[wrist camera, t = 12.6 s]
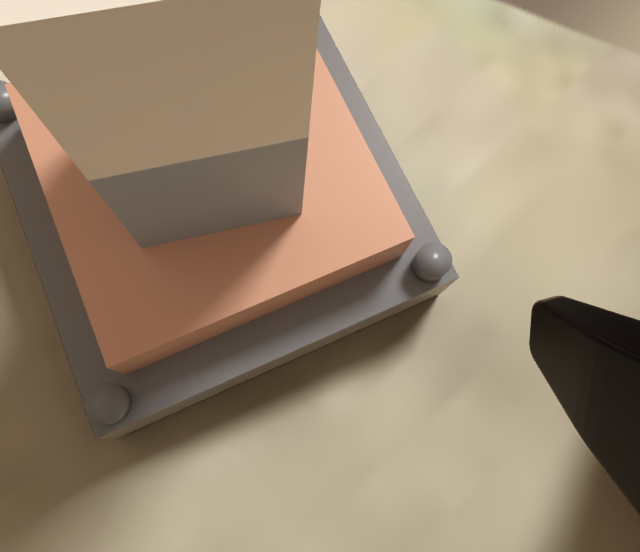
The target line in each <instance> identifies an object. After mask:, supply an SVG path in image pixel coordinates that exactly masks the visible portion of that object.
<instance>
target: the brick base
mask: <svg viewBox="0 0 640 552" xmlns="http://www.w3.org/2000/svg"><path fill="white" fill-rule="evenodd" d="M0 163H1V166H2V169H3V172H4V175H5V178H6V181H7V183H8V186H9V189H10V192H11V195H12V198H13V201H14V204H15V207H16V210H17V212H18V215H19V218H20V221H21V224H22V227H23V230H24V233H25V236H26V239H27V241H28V244H29V247H30V250H31V253H32V256H33V259H34V262H35V265H36V268H37V270H38V273H39V276H40V279H41V282H42V285H43V288H44V291H45V294H46V297H47V299H48V302H49V305H50V308H51V311H52V314H53V317H54V320H55V323H56V326H57V328H58V331H59V334H60V337H61V340H62V343H63V346H64V349H65V352H66V355H67V357H68V360H69V363H70V366H71V369H72V372H73V375H74V378H75V381H76V383H77V386H78V389H79V392H80V395H81V398H82V401H83V404H84V411H85V413H86V415H87V417H88V418H89V421H90V424H91V427H92V430H93V433H94V436H95V439H108V438H120V437H122V436H124V435H126V434H129V433H131V432H133V431H135V430H137V429H140V428H142V427H144V426H146V425H149V424H151V423H153V422H155V421H158V420H160V419H162V418H164V417H166V416H169V415H171V414H173V413H175V412H178V411H180V410H182V409H184V408H187V407H189V406H191V405H193V404H195V403H198V402H200V401H202V400H204V399H207V398H209V397H211V396H213V395H215V394H218V393H220V392H222V391H224V390H227V389H229V388H231V387H233V386H236V385H238V384H240V383H242V382H244V381H247V380H249V379H251V378H253V377H256V376H258V375H260V374H262V373H265V372H267V371H269V370H271V369H273V368H276V367H278V366H280V365H282V364H285V363H287V362H289V361H291V360H294V359H296V358H298V357H300V356H302V355H305V354H307V353H309V352H311V351H314V350H316V349H318V348H320V347H323V346H325V345H327V344H329V343H331V342H334V341H336V340H338V339H340V338H343V337H345V336H347V335H349V334H352V333H354V332H356V331H358V330H360V329H363V328H365V327H367V326H369V325H372V324H374V323H376V322H378V321H380V320H383V319H385V318H387V317H389V316H392V315H394V314H396V313H398V312H401V311H403V310H405V309H407V308H409V307H412V306H414V305H416V304H418V303H421V302H423V301H425V300H427V299H430V298H432V297H434V296H436V295H438V294H440V293H441V292H442V291H444V290H445V289H446V288H447V287H448V286H449V285H451V284H452V283H453V282H454V281H455V280H457V279H458V278H459V276H458V274H457V273H456V271H455V269H454V267H453V265H452V256H451V253H450V252H449V250H448V249H447V248H446V247H445V246H444V245H442V244H441V242H440V241H439V239H438V237H437V235H436V233H435V231H434V229H433V227H432V226H431V224H430V222H429V220H428V218H427V216H426V214H425V212H424V210H423V209H422V207H421V205H420V203H419V201H418V199H417V197H416V195H415V193H414V192H413V190H412V188H411V186H410V184H409V182H408V180H407V178H406V177H405V175H404V173H403V171H402V169H401V167H400V165H399V163H398V161H397V160H396V158H395V156H394V154H393V152H392V150H391V148H390V146H389V144H388V143H387V141H386V139H385V137H384V135H383V133H382V131H381V129H380V128H379V126H378V124H377V122H376V120H375V118H374V116H373V114H372V112H371V111H370V109H369V107H368V105H367V103H366V101H365V99H364V97H363V96H362V94H361V92H360V90H359V88H358V86H357V84H356V82H355V80H354V79H353V77H352V75H351V73H350V71H349V69H348V67H347V65H346V63H345V62H344V60H343V58H342V56H341V54H340V52H339V50H338V48H337V47H336V45H335V43H334V41H333V39H332V37H331V35H330V33H329V31H328V30H327V28H326V26H325V24H324V22H323V20H322V18H321V16H320V14H319V26H318V37H317V48H316V60H315V71H314V82H313V93H312V105H311V116H310V127H309V138H308V150H307V161H306V172H305V183H304V195H303V206H302V214H300V215H295V216H290V217H286V218H281V219H276V220H272V221H267V222H262V223H258V224H253V225H249V226H244V227H239V228H235V229H230V230H225V231H221V232H216V233H211V234H207V235H202V236H197V237H193V238H188V239H183V240H179V241H174V242H169V243H165V244H160V245H155V246H151V247H146V248H141V247H140V246H139V244H138V243H137V242H136V241H135V239H134V238H133V237H132V236H131V234H130V233H129V232H128V230H127V229H126V228H125V227H124V225H123V224H122V223H121V222H120V220H119V219H118V218H117V217H116V215H115V214H114V213H113V211H112V210H111V209H110V208H109V206H108V205H107V204H106V203H105V201H104V200H103V199H102V198H101V196H100V195H99V194H98V192H97V191H96V190H95V189H94V187H93V186H92V185H91V184H90V182H89V181H88V180H87V179H86V177H85V176H84V175H83V173H82V172H81V171H80V170H79V168H78V167H77V166H76V165H75V163H74V162H73V161H72V160H71V158H70V157H69V156H68V154H67V153H66V152H65V151H64V149H63V148H62V147H61V146H60V144H59V143H58V142H57V141H56V139H55V138H54V137H53V135H52V134H51V133H50V132H49V130H48V129H47V128H46V127H45V125H44V124H43V123H42V122H41V120H40V119H39V118H38V116H37V115H36V114H35V113H34V111H33V110H32V109H31V108H30V106H29V105H28V104H27V102H26V101H25V100H24V99H23V97H22V96H21V95H20V94H19V92H18V91H17V90H16V89H15V87H14V86H13V85H12V83H11V82H10V83H6V82H4V81H1V80H0Z"/></svg>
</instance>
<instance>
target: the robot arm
mask: <svg viewBox="0 0 640 552" xmlns="http://www.w3.org/2000/svg"><path fill="white" fill-rule="evenodd" d="M529 345H530V351H531V354H532V357H533V359H534V360H535V362H536V364H537V365H538V367H539V369H540V370H541V372H542V374H543V375H544V377H545V379H546V380H547V382H548V384H549V385H550V387H551V389H552V390H553V392H554V394H555V395H556V397H557V399H558V400H559V402H560V404H561V405H562V407H563V409H564V410H565V412H566V414H567V415H568V417H569V419H570V420H571V422H572V424H573V425H574V427H575V428H576V430H577V432H578V433H579V435H580V436H581V438H582V439H583V441H584V442H585V443H586V445H587V446H588V448H589V449H590V450H591V452H592V453H593V454H594V456H595V457H596V458H597V460H598V461H599V462H600V464H601V465H602V466H603V468H604V469H605V470H606V472H607V473H608V474H609V476H610V477H611V478H612V480H613V481H614V482H615V484H616V485H617V486H618V488H619V489H620V490H621V492H622V493H623V494H624V496H625V497H626V498H627V500H628V501H629V502H630V503H631V505H632V506H633V507H634V509H635V510H636V511H637V513H638V514H639V515H640V320H637V319H634V318H630V317H627V316H624V315H621V314H618V313H615V312H612V311H608V310H605V309H602V308H599V307H596V306H593V305H589V304H586V303H583V302H580V301H577V300H574V299H570V298H567V297H564V296H554V297H550V298H546V299H543V300H539V301H537V302H536V303H535V304H534V305H533V307H532V314H531V327H530V340H529Z"/></svg>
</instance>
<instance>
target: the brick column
mask: <svg viewBox="0 0 640 552" xmlns="http://www.w3.org/2000/svg"><path fill="white" fill-rule="evenodd" d="M320 3H321V0H0V70H1V71H2V72H3V73H4V75H5V76H6V77H7V78H8V80H9V81H10V82H11V83H12V85H13V86H14V87H15V89H16V90H17V91H18V92H19V94H20V95H21V96H22V97H23V99H24V100H25V101H26V102H27V104H28V105H29V106H30V108H31V109H32V110H33V111H34V113H35V114H36V115H37V116H38V118H39V119H40V120H41V122H42V123H43V124H44V125H45V127H46V128H47V129H48V130H49V132H50V133H51V134H52V135H53V137H54V138H55V139H56V141H57V142H58V143H59V144H60V146H61V147H62V148H63V149H64V151H65V152H66V153H67V154H68V156H69V157H70V158H71V160H72V161H73V162H74V163H75V165H76V166H77V167H78V168H79V170H80V171H81V172H82V173H83V175H84V176H85V177H86V179H87V180H88V181H89V182H90V184H91V185H92V186H93V187H94V189H95V190H96V191H97V192H98V194H99V195H100V196H101V198H102V199H103V200H104V201H105V203H106V204H107V205H108V206H109V208H110V209H111V210H112V211H113V213H114V214H115V215H116V217H117V218H118V219H119V220H120V222H121V223H122V224H123V225H124V227H125V228H126V229H127V230H128V232H129V233H130V234H131V236H132V237H133V238H134V239H135V241H136V242H137V243H138V244H139V246H140V247H141V248H146V247H151V246H155V245H160V244H165V243H169V242H174V241H179V240H183V239H188V238H193V237H197V236H202V235H207V234H211V233H216V232H221V231H225V230H230V229H235V228H239V227H244V226H249V225H253V224H258V223H262V222H267V221H272V220H276V219H281V218H286V217H290V216H295V215H300V214H302V206H303V195H304V183H305V172H306V161H307V150H308V138H309V127H310V116H311V105H312V93H313V82H314V71H315V60H316V48H317V37H318V26H319V14H320Z"/></svg>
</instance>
